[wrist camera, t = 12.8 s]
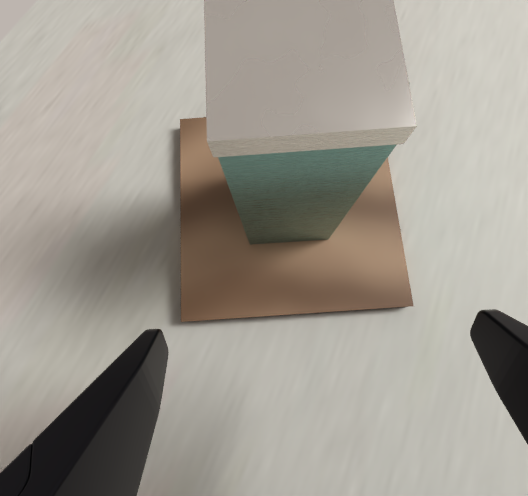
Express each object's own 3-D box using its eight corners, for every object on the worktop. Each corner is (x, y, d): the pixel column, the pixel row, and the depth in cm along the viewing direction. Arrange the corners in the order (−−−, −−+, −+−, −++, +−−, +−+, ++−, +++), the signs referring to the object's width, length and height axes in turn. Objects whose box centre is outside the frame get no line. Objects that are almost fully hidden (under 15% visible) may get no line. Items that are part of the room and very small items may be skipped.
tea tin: (330, 241, 19) (417, 126, 7) (248, 246, 19) (206, 141, 8) (322, 165, 20) (386, -38, 9) (244, 171, 20) (203, -22, 9)
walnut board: (403, 306, 20) (413, 305, 18) (187, 321, 20) (181, 321, 18) (371, 117, 23) (378, 103, 21) (186, 132, 23) (180, 119, 22)
